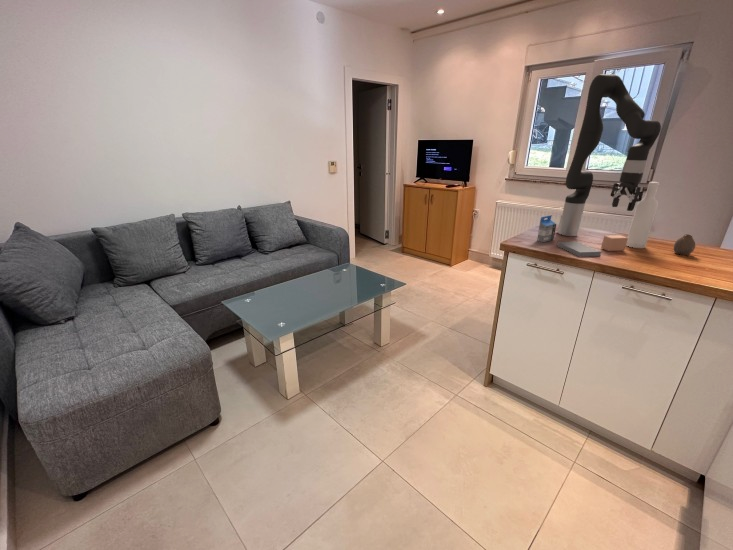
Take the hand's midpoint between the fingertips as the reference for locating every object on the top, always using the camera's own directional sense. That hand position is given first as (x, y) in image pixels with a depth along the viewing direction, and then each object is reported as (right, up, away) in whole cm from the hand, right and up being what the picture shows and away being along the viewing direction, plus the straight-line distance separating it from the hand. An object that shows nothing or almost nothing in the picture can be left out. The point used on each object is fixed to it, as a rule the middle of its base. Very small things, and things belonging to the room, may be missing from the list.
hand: (621, 208), depth 150 cm
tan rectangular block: (+1, -18, +7) cm, 19 cm away
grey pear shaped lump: (+27, -20, 0) cm, 34 cm away
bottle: (+15, -16, +12) cm, 25 cm away
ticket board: (-17, -18, +5) cm, 25 cm away
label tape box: (-23, -12, +22) cm, 34 cm away
